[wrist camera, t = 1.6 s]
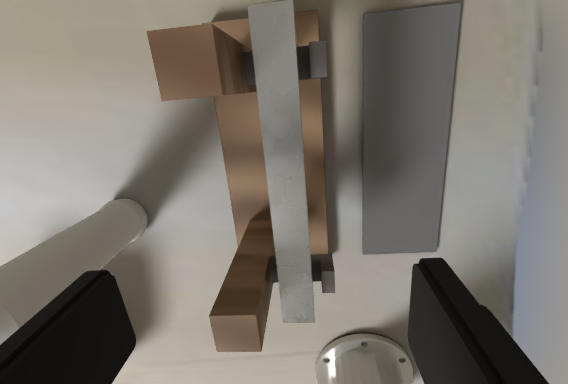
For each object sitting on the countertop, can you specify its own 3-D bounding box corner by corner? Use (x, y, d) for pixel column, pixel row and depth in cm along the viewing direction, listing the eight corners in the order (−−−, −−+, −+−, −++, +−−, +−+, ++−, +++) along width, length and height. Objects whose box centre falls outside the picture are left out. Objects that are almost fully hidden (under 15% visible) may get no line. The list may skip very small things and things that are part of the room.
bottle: (103, 227, 35) (-311, 515, 11) (110, 189, 33) (-365, 439, 10) (145, 242, 35) (-177, 553, 12) (153, 206, 33) (-205, 486, 10)
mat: (434, 249, 33) (436, 251, 32) (362, 252, 34) (363, 254, 33) (458, 3, 25) (461, 2, 24) (362, 14, 25) (363, 13, 25)
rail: (313, 300, 25) (314, 322, 23) (285, 301, 26) (283, 322, 23) (294, 10, 18) (292, -1, 16) (254, 15, 18) (246, 5, 16)
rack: (327, 257, 34) (343, 385, 20) (244, 260, 35) (200, 384, 21) (316, 13, 26) (330, -81, 11) (207, 26, 27) (89, -45, 12)
